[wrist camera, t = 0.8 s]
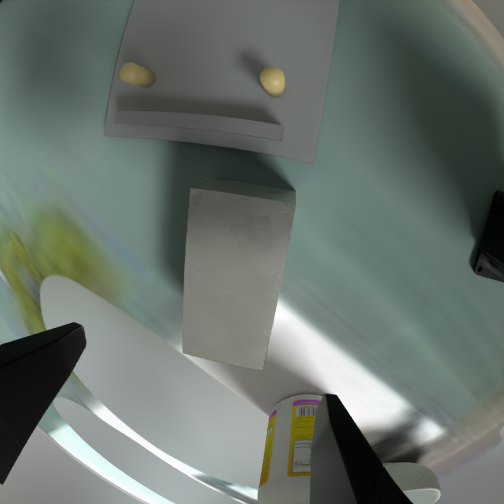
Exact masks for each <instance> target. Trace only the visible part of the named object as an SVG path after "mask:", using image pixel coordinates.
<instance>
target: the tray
mask: <svg viewBox="0 0 504 504" xmlns="http://www.w3.org/2000/svg"><path fill="white" fill-rule="evenodd" d="M339 5H340V0H134V3H133V6H132V9H131V12H130V15H129V19H128V22H127V25H126V28H125V32H124V35H123V39H122V43H121V47H120V50H119V54H118V59H117V63H116V67H115V72H114V76H113V81H112V86H111V92H110V97H109V103H108V109H107V115H106V122H105V130H104V136H111V137H132V138H147V139H159V140H170V141H180V142H190V143H198V144H206V145H214V146H221V147H228V148H235V149H241V150H247V151H253V152H259V153H265V154H270V155H276V156H281V157H286V158H291V159H296V160H301V161H305V162H310V163H314V159H315V154H316V149H317V143H318V138H319V133H320V127H321V122H322V116H323V111H324V105H325V99H326V93H327V87H328V81H329V75H330V69H331V62H332V56H333V49H334V42H335V35H336V28H337V20H338V13H339Z"/></svg>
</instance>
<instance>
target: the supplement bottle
mask: <svg viewBox="0 0 504 504" xmlns="http://www.w3.org/2000/svg"><path fill="white" fill-rule="evenodd" d="M322 397H323V396H320V395H313V394H302V395H296V396H292V397H289V398H286V399H284V400H282V401H280V402H279V403H278V404H276V405H275V406H274V407H273V409H272V411H271V413H270V416H269V423H268V430H267V437H266V444H265V452H264V459H263V465H262V472H261V478H260V485H259V490H258V501H259V503H260V504H309V503H310V466H311V445H312V437H313V430H314V422H315V413H316V409H317V407H318V405H319V403H320V401H321V399H322Z"/></svg>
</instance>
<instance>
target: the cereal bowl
mask: <svg viewBox="0 0 504 504" xmlns="http://www.w3.org/2000/svg"><path fill="white" fill-rule="evenodd" d="M382 464H383V467H385V468H386V470H387V471H388V473H389V474H390V476H391V477H392V478H393V480H394V481H395V482H396V484H397V485H398V486H399V487H400V489H401V490H402V491H403V492H404V494H405V495H406V496H407V497H408V498H409V499H410V500H411V501H412V503H413V504H434V503H435V502H436V501H437V500H438V499H439V497H440V495H441V489H440V485H439V482H438V479H437V477H436V476H435V474H434V473H433V472H432V471H431V470H430V469H429V468H427V467H425V466H423V465H420V464H416V463H407V462H404V463H403V462H400V463H382Z"/></svg>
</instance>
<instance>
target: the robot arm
mask: <svg viewBox="0 0 504 504" xmlns="http://www.w3.org/2000/svg"><path fill="white" fill-rule="evenodd" d="M499 196H500V200H499ZM479 266H480V268H479V269H478V267H479ZM473 272H474V273H475V274H477V275H479V276H483V277H486V278H490V279H494V280H497V281H501V282H504V192H502V191H496V192H495V194H494V198H493V202H492V206H491V210H490V214H489V218H488V222H487V225H486V229H485V232H484V235H483V239H482V242H481V245H480V248H479V251H478V254H477V257H476V260H475V262H474V265H473ZM85 347H86V337H85V331H84V327H83V326H82V325H80V324H78V323H76V322H73V323H69V324H66V325H63V326H60V327H57V328H53V329H50V330H47V331H44V332H40V333H37V334H34V335H31V336H27V337H24V338H21V339H17V340H14V341H11V342H7V343H4V344H1V345H0V484H2V485H3V483H4V482H5V480H6V478H7V476H8V474H9V472H10V471H11V469H12V467H13V465H14V463H15V462H16V460H17V458H18V456H19V455H20V453H21V451H22V449H23V448H24V446H25V444H26V443H27V441H28V439H29V437H30V436H31V434H32V433H33V431H34V429H35V428H36V426H37V425H38V423H39V421H40V420H41V418H42V417H43V415H44V413H45V412H46V410H47V409H48V407H49V406H50V404H51V403H52V401H53V400H54V398H55V397H56V395H57V394H58V392H59V391H60V389H61V388H62V386H63V385H64V383H65V382H66V381H67V379H68V377H69V376H70V374H71V373H72V371H73V369H74V367H75V365H76V363H77V362H78V360H79V358H80V356H81V354H82V353H83V350H84V349H85ZM309 504H413V503H412V501H411V500H410V499H409V498H408V497H407V496H406V495H405V494H404V492H403V491H402V490H401V489H400V487H399V486H398V485H397V484H396V482H395V481H394V480H393V478H392V477H391V476H390V474H389V473H388V471H387V470H386V468H385V467H383V464H382V462H381V461H380V459H379V458H378V456H377V455H376V453H375V452H374V450H373V449H372V447H371V446H370V444H369V443H368V441H367V440H366V438H365V437H364V435H363V434H362V432H361V431H360V429H359V428H358V426H357V425H356V423H355V422H354V420H353V419H352V417H351V416H350V414H349V413H348V411H347V410H346V408H345V407H344V405H343V404H342V402H341V401H340V399H339V398H338V396H337V395H335V394H327V393H326V394H324V395H323V397H322V399H321V401H320V403H319V405H318V407H317V409H316V413H315V422H314V430H313V437H312V445H311V466H310V503H309Z"/></svg>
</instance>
